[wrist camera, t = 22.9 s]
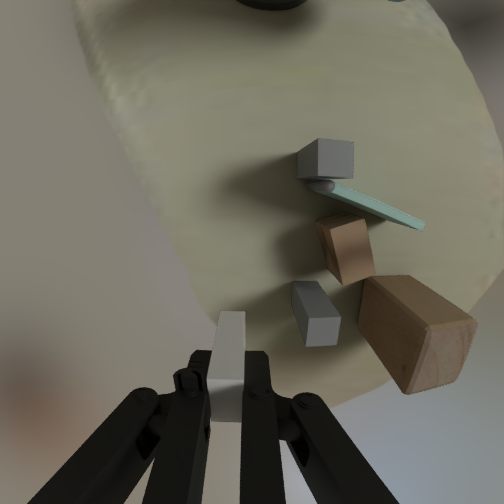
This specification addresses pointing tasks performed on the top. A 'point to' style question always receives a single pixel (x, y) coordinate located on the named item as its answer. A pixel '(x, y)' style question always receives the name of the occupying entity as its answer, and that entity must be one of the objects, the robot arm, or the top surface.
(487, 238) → the top surface
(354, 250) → the brown rectangular block
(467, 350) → the wooden block
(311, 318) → the post
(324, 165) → the hinge post
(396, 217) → the gate
